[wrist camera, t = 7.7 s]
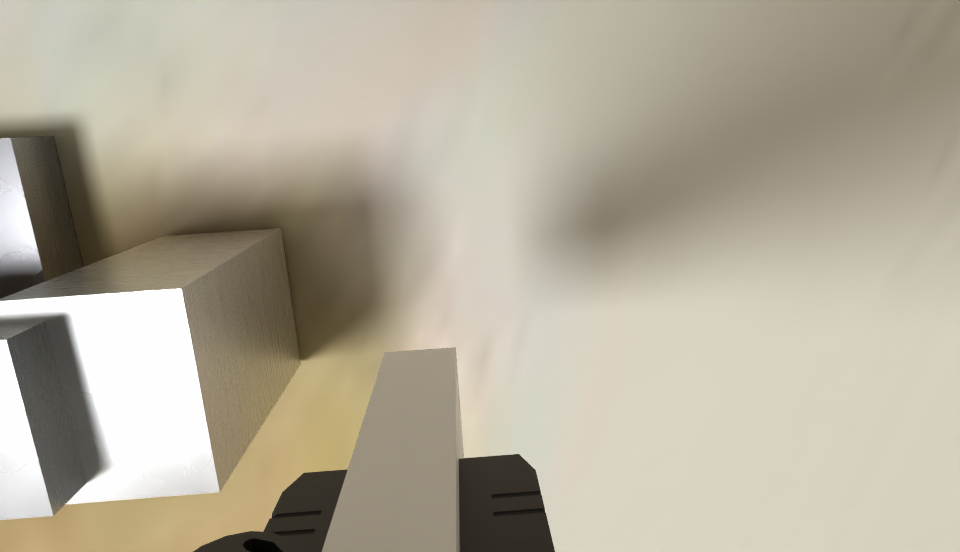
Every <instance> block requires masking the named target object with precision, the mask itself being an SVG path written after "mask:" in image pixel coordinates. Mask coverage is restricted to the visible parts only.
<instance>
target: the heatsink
mask: <svg viewBox="0 0 960 552" xmlns="http://www.w3.org/2000/svg"><path fill="white" fill-rule="evenodd" d="M82 267H83V264H82V260H81V256H80V251H79V247H78V243H77V238H76V234H75V229H74V225H73V221H72V216H71V212H70V207H69V203H68V199H67V194H66V190H65V186H64V181H63V177H62V172H61V168H60V164H59V159H58V155H57V150H56V146H55V142H54V137H53V136H48V137H15V138H0V299H1V298H4V297H7V296H9V295H12V294H14V293H17V292H20V291H22V290H25V289H27V288H30V287H32V286H35V285H38V284H40V283H43V282H45V281H48V280H51V279H53V278H56V277H58V276H61V275H64V274H66V273H69V272H71V271H74V270H76V269H79V268H82Z"/></svg>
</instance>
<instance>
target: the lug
mask: <svg viewBox="0 0 960 552" xmlns="http://www.w3.org/2000/svg"><path fill="white" fill-rule="evenodd" d="M300 364H301V363H300V356H299V349H298V342H297V335H296V328H295V321H294V314H293V307H292V300H291V293H290V286H289V279H288V272H287V265H286V258H285V251H284V244H283V237H282V230H281V228H275V229H260V230H245V231H231V232H216V233H201V234H186V235H171V236H162V237H159V238H157V239H154V240H152V241H149V242H146V243H144V244H141V245H139V246H136V247H133V248H131V249H128V250H126V251H123V252H120V253H118V254H115V255H113V256H110V257H108V258H105V259H102V260H100V261H97V262H95V263H92V264H89V265H87V266H84V267H82V268H79V269H76V270H74V271H71V272H69V273H66V274H64V275H61V276H58V277H56V278H53V279H51V280H48V281H45V282H43V283H40V284H38V285H35V286H32V287H30V288H27V289H25V290H22V291H20V292H17V293H14V294H12V295H9V296H7V297H4V298H1V299H0V520H8V519H20V518H33V517H45V516H54V515H55V514H56V513H57V512H58V511H59V510H60V509H61V508H62V507H63V506H64V505H65V504H77V503H89V502H102V501H115V500H127V499H140V498H152V497H165V496H178V495H190V494H203V493H215V492H220V491H221V489H222V488H223V486H224V485H225V483H226V481H227V480H228V478H229V477H230V475H231V473H232V472H233V470H234V469H235V467H236V466H237V464H238V462H239V461H240V459H241V458H242V456H243V454H244V453H245V451H246V450H247V448H248V447H249V445H250V443H251V442H252V440H253V439H254V437H255V435H256V434H257V432H258V431H259V429H260V428H261V426H262V424H263V423H264V421H265V420H266V418H267V416H268V415H269V413H270V412H271V410H272V409H273V407H274V405H275V404H276V402H277V401H278V399H279V397H280V396H281V394H282V393H283V391H284V390H285V388H286V386H287V385H288V383H289V382H290V380H291V378H292V377H293V375H294V374H295V372H296V371H297V369H298V367H299V366H300Z"/></svg>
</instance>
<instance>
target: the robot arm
mask: <svg viewBox="0 0 960 552" xmlns="http://www.w3.org/2000/svg"><path fill="white" fill-rule="evenodd" d="M194 552H555V550H554V546H553V542H552V537H551V533H550V529H549V525H548V521H547V516H546V513H545V508H544V504H543V500H542V495H541V492H540V487H539V483H538V479H537V474H536V470H535V469H534V468H533V467H532V466H531V465H530V464H528V463H527V462H526V461H525V460H524V459H523V458H522V457H521V456H520V455H519V454H515V455H502V456H489V457H476V458H464V453H463V439H462V426H461V413H460V399H459V386H458V373H457V359H456V347H455V348H441V349H427V350H413V351H399V352H385V354H384V357H383V360H382V363H381V366H380V369H379V373H378V376H377V379H376V382H375V385H374V388H373V392H372V395H371V398H370V401H369V404H368V407H367V410H366V414H365V417H364V420H363V423H362V426H361V429H360V432H359V436H358V439H357V442H356V445H355V448H354V451H353V455H352V458H351V461H350V464H349V467H348V470H336V471H323V472H310V473H303V474H302V475H301V476H300V477H299V478H298V479H297V480H296V481H295V482H293V483H292V484H291V485H290V486H289V487H288V488H287V489H286V490H285V491H283V492H282V494H281V496H280V498H279V501H278V503H277V505H276V507H275V509H274V511H273V513H272V519H269V521H268V524H267V526H266V528H265V530H264V532H255V531H250V532H244V533H239V534H234V535H229V536H225V537H223V538H220V539H218V540H215V541H213V542H211V543H208V544H206V545H203V546H201V547H200V548H198V549H197V550H195V551H194Z"/></svg>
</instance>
